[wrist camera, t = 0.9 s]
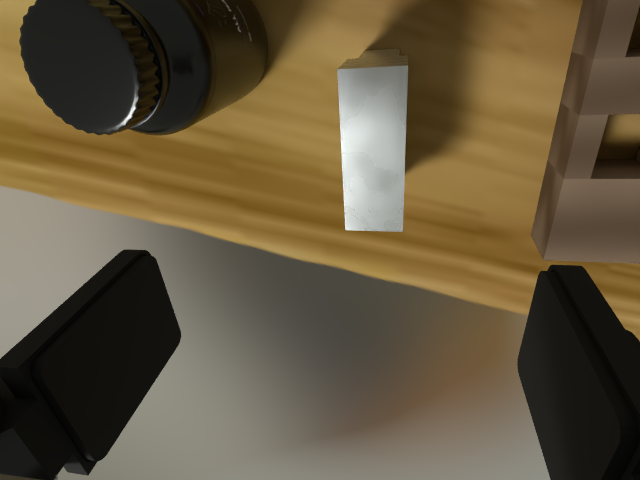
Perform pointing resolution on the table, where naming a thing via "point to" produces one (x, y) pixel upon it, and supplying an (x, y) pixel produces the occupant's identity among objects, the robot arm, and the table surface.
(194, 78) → the supplement bottle
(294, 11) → the table surface
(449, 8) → the table surface
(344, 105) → the grey boxy piece
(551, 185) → the rail
